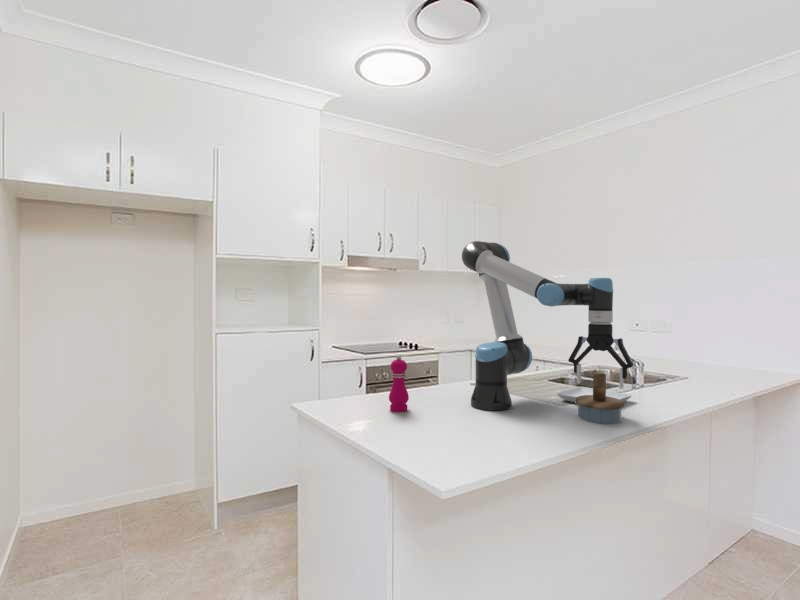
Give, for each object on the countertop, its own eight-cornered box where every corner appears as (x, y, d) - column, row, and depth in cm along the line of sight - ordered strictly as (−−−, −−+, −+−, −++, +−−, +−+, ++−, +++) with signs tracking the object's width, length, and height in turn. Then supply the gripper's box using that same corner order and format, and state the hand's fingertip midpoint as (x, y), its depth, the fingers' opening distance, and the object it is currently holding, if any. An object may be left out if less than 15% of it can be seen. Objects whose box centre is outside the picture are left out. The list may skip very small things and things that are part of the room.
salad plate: (632, 402, 178) (632, 394, 178) (610, 412, 164) (610, 403, 164) (580, 393, 194) (580, 385, 194) (555, 401, 179) (555, 393, 179)
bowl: (574, 419, 154) (574, 404, 153) (584, 411, 164) (584, 397, 164) (616, 426, 146) (616, 410, 146) (623, 417, 157) (623, 402, 157)
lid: (570, 404, 153) (570, 374, 153) (582, 396, 165) (582, 368, 165) (618, 411, 144) (619, 380, 144) (627, 402, 157) (627, 373, 156)
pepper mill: (396, 406, 171) (396, 353, 170) (412, 409, 167) (412, 354, 166) (384, 410, 165) (384, 355, 165) (401, 413, 161) (401, 357, 160)
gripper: (559, 322, 159) (559, 382, 159) (639, 325, 144) (638, 392, 145) (565, 321, 165) (565, 379, 165) (643, 324, 150) (642, 388, 151)
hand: (599, 385), depth 155 cm, fingers open, 13 cm apart
